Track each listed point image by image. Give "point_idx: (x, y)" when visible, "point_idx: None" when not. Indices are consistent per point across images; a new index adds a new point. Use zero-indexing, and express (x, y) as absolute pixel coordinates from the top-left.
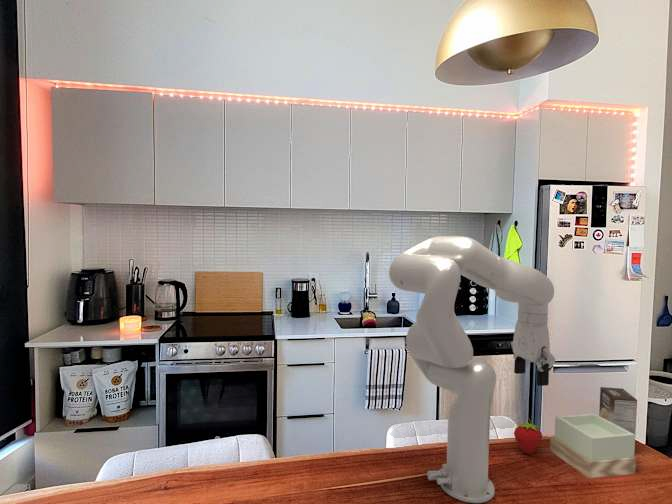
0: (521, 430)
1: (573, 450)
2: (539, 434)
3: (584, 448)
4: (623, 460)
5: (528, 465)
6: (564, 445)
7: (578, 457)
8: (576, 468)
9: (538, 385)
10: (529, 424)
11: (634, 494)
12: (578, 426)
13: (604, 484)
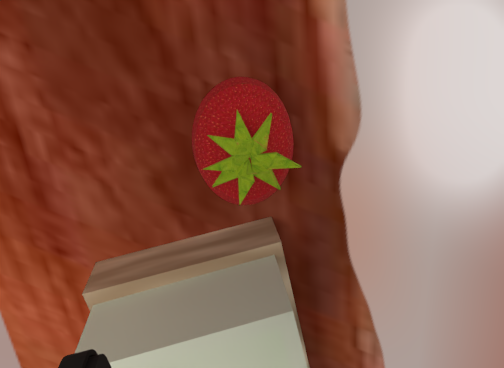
0: (224, 108)
1: (169, 278)
2: (211, 187)
3: (121, 316)
4: None
5: (143, 91)
6: (206, 263)
7: (132, 276)
8: (145, 250)
9: (68, 358)
10: (263, 167)
11: (31, 343)
12: (275, 363)
13: (68, 291)
